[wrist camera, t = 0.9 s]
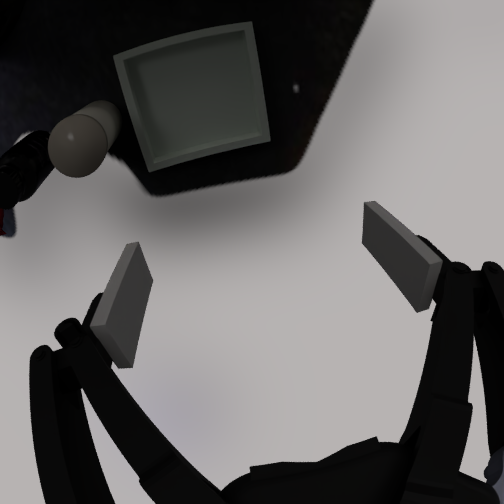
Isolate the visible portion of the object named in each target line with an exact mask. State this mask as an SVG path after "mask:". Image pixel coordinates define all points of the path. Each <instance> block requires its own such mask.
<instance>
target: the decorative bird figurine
mask: <svg viewBox="0 0 504 504" xmlns="http://www.w3.org/2000/svg"><path fill="white" fill-rule="evenodd" d="M3 217H4V210H3V209H1V208H0V236H1V235H4V234H6V233H5V232H4V231H3V230H2V227H3Z"/></svg>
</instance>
